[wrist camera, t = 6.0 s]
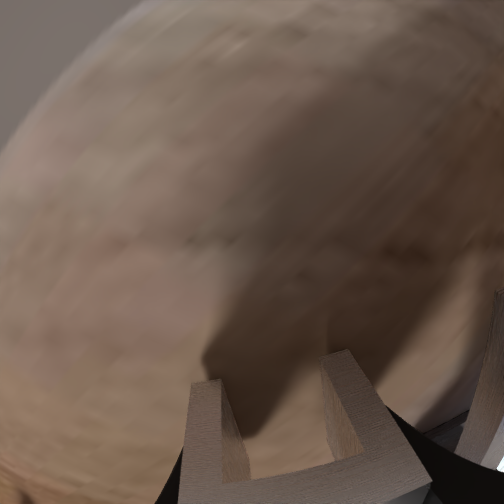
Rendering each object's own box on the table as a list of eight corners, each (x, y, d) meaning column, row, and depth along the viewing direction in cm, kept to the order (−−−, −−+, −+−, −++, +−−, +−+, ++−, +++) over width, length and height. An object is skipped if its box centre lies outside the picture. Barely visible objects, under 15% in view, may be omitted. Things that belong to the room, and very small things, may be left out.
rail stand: (499, 236, 10) (612, 280, 4) (448, 468, 14) (485, 526, 8) (371, 273, 10) (499, 376, 4) (363, 506, 14) (390, 575, 8)
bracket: (347, 348, 10) (432, 480, 4) (350, 433, 11) (400, 543, 5) (191, 383, 10) (174, 539, 4) (224, 461, 11) (230, 582, 5)
